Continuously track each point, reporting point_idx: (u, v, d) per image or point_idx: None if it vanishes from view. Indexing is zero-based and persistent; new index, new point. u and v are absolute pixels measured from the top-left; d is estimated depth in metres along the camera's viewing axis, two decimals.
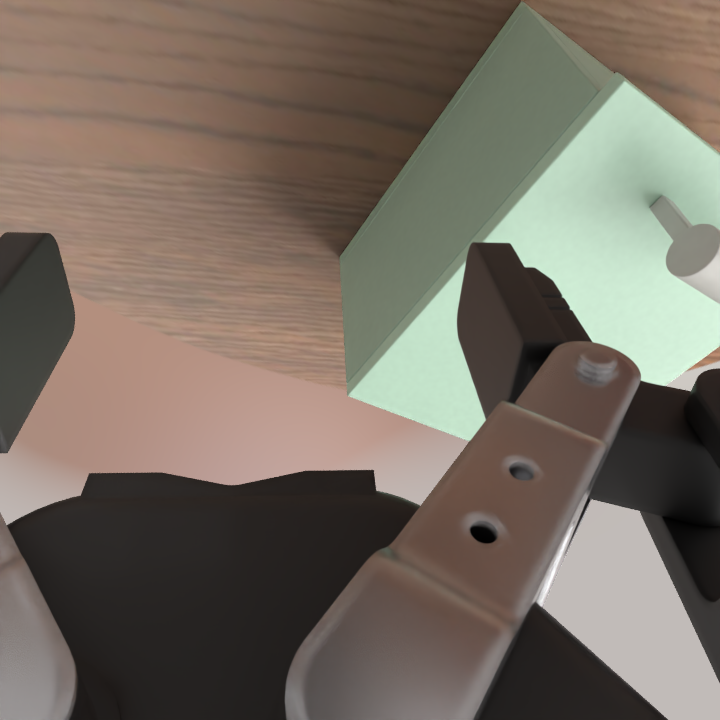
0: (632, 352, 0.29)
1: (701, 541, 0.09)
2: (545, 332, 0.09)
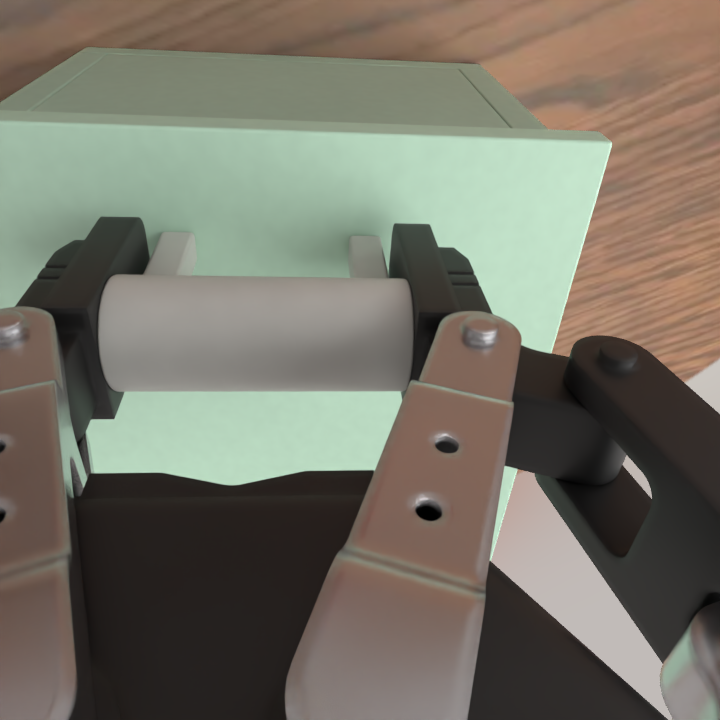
0: None
1: (598, 500, 0.09)
2: (442, 303, 0.10)
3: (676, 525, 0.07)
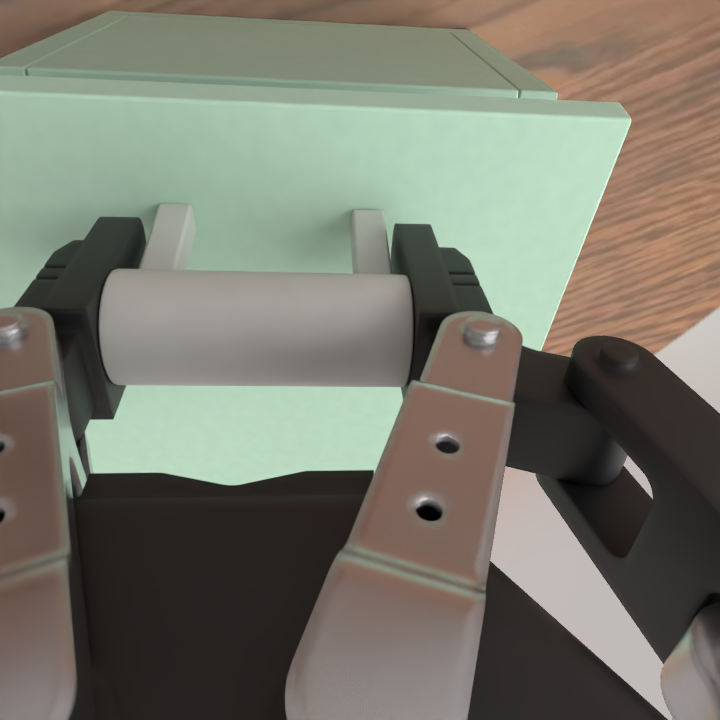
0: None
1: (599, 500, 0.09)
2: (443, 304, 0.10)
3: (677, 525, 0.07)
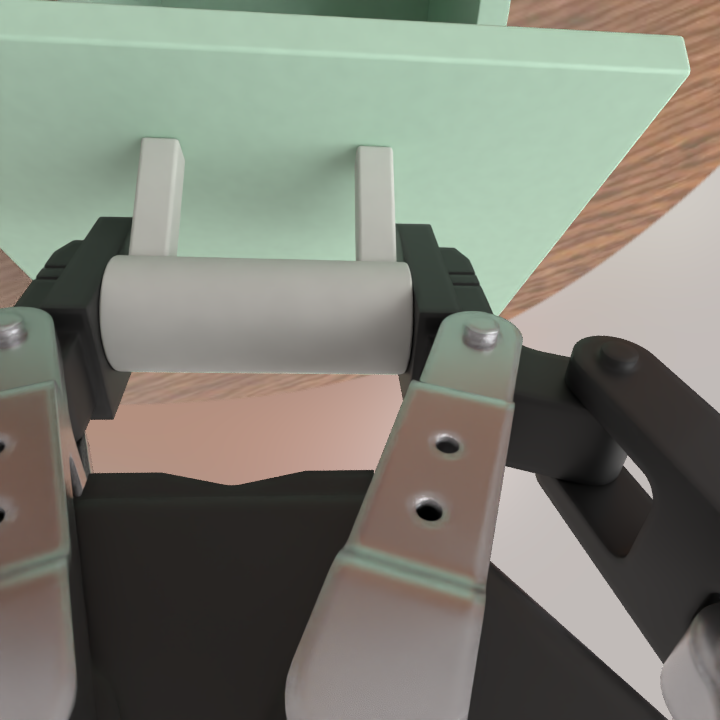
0: None
1: (598, 500, 0.09)
2: (443, 303, 0.10)
3: (676, 526, 0.07)
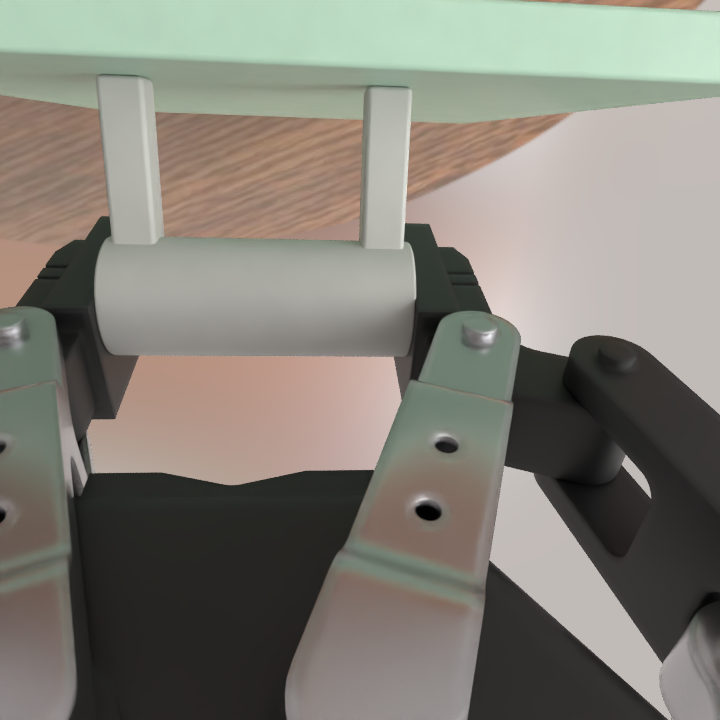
0: (416, 110, 0.15)
1: (597, 500, 0.09)
2: (441, 303, 0.10)
3: (674, 525, 0.07)
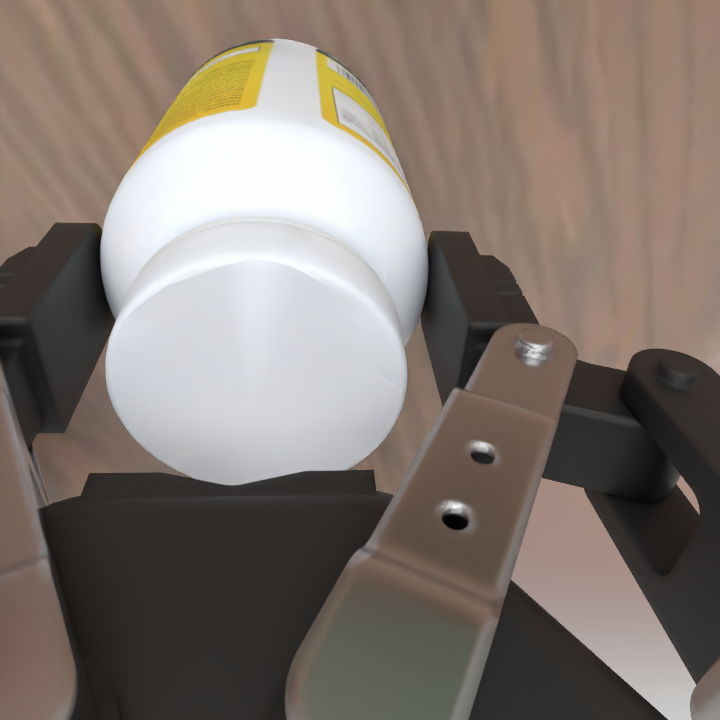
0: None
1: (646, 517, 0.09)
2: (491, 315, 0.10)
3: None
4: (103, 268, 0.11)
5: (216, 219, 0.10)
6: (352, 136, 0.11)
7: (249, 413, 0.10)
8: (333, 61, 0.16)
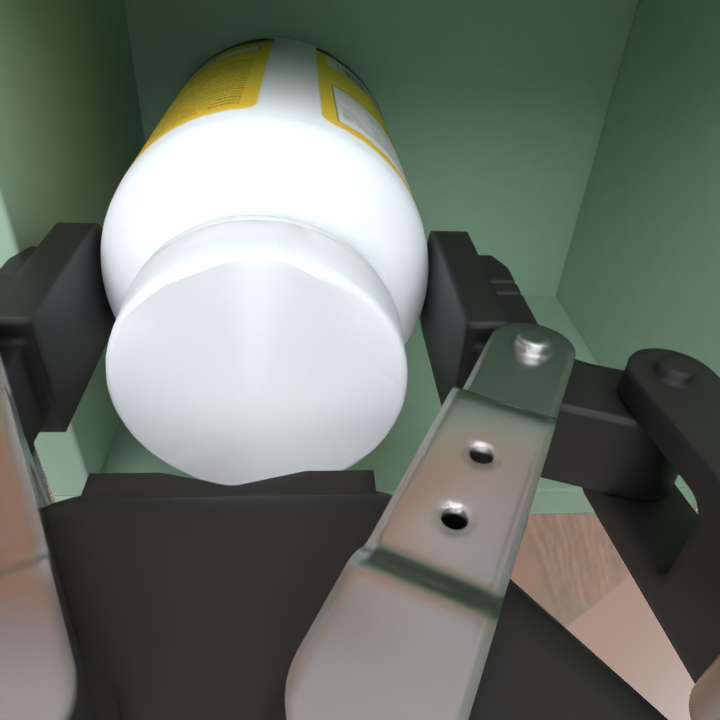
0: None
1: (644, 516, 0.09)
2: (489, 315, 0.10)
3: None
4: (103, 267, 0.11)
5: (217, 217, 0.10)
6: (352, 135, 0.11)
7: (249, 411, 0.10)
8: (333, 60, 0.16)
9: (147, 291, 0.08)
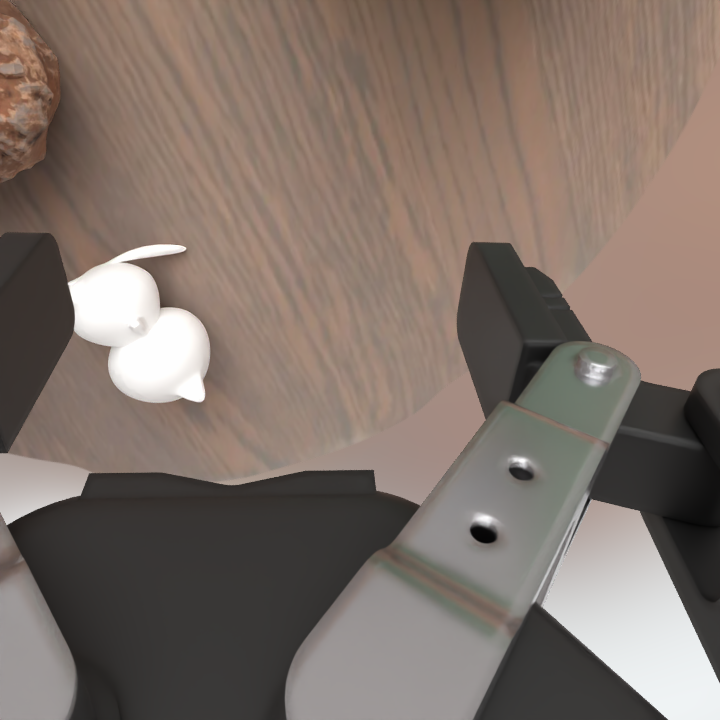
0: None
1: (701, 541, 0.09)
2: (545, 332, 0.09)
3: None
4: None
5: None
6: None
7: None
8: None
9: None
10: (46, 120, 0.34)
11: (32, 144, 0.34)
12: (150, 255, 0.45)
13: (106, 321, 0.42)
